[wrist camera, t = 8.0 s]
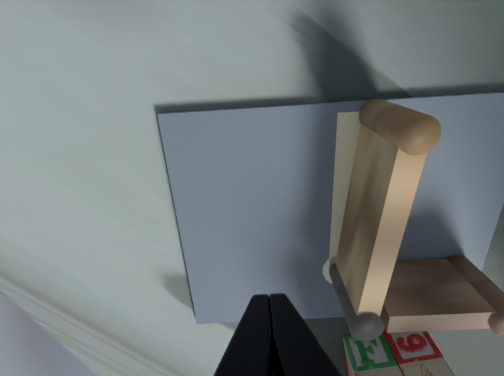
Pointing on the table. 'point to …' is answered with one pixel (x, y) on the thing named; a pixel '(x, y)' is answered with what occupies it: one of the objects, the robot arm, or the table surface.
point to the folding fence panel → (379, 208)
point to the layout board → (317, 195)
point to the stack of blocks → (395, 356)
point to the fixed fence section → (441, 297)
